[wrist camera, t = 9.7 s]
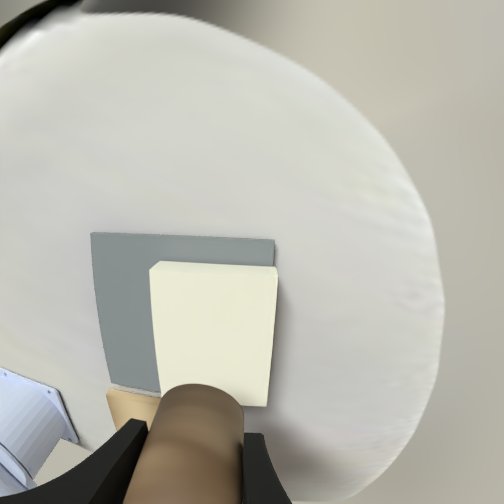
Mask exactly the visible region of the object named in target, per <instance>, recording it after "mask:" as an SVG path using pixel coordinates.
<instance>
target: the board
mask: <svg viewBox="0 0 504 504" xmlns="http://www.w3.org/2000/svg"><path fill="white" fill-rule="evenodd" d="M106 398H107V401H108V405H109V408H110V411H111V414H112V418H113V421H114V424H115V427H116V430H117V431H118V430H119V429H120V428H121V427H122V426H123V425H124V424H125V423H126V422H127V421H128V420H129V419H131V418H134V419H139V420H144V421H146V422H147V427H148V431H149V430H150V427H151V424H152V422H153V419H154V416H155V414H156V411H157V409H158V406H159V403H160V401H161V398H158V397H152V396H146V395H140V394H135V393H130V392H125V391H120V390H116V389H111V388H110V390H109V391H108V393H107V394H106Z"/></svg>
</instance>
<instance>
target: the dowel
mask: <svg viewBox="0 0 504 504" xmlns="http://www.w3.org/2000/svg"><path fill="white" fill-rule="evenodd" d="M243 441H244V413H243V410H242V408H241V406H240V404H239V403H238V402H237V401H236V400H235V399H234V398H233V397H232V396H231V395H230V394H228V393H226V392H225V391H223V390H221V389H218V388H216V387H213V386H209V385H204V384H196V383H195V384H183V385H179V386H176V387H173V388H172V389H170V390H168V391H167V392H166V393H165V394H164V395H163V397H162V398H161V401H160V403H159V406H158V409H157V411H156V414H155V416H154V419H153V422H152V424H151V427H150V430H149V432H148V435H147V438H146V440H145V443H144V446H143V448H142V451H141V454H140V457H139V459H138V462H137V465H136V468H135V470H134V473H133V476H132V479H131V481H130V484H129V487H128V490H127V493H126V496H125V499H124V501H123V504H242V493H243V467H242V462H243Z"/></svg>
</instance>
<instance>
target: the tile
mask: <svg viewBox="0 0 504 504" xmlns="http://www.w3.org/2000/svg"><path fill="white" fill-rule="evenodd" d="M149 276H150V294H151V308H152V321H153V332H154V341H155V351H156V359H157V367H158V375H159V382H160V389H161V395H162V397H163V395H164V394H165V393H166V392H167V391H168V390H170V389H172V388H173V387H176V386H179V385H183V384H195V383H196V384H204V385H209V386H213V387H216V388H218V389H221V390H223V391H225V392H226V393H228V394H230V395H231V396H232V397H233V398H234V399H235V400H236V401H237V402H238V403H239V404H240V405H242V406H266V405H267V396H268V386H269V376H270V366H271V356H272V345H273V334H274V322H275V310H276V298H277V285H278V274H277V270H276V267H267V266H246V265H226V264H208V263H190V262H172V261H159V262H158V263H157V264H155V265H154V266H153V267H152V268H151V269H149Z"/></svg>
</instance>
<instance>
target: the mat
mask: <svg viewBox="0 0 504 504" xmlns="http://www.w3.org/2000/svg"><path fill="white" fill-rule="evenodd" d="M90 235H91V253H92V266H93V277H94V286H95V295H96V303H97V310H98V317H99V324H100V330H101V335H102V341H103V346H104V352H105V356H106V361H107V366H108V370H109V375H110V379H111V383H114V384H118V385H123V386H128V387H134V388H139V389H145V390H151V391H157V392H161V389H160V382H159V375H158V367H157V359H156V351H155V341H154V332H153V321H152V308H151V294H150V276H149V269H151V268H152V267H153V266H154V265H155V264H157V263H158V262H159V261H172V262H190V263H208V264H226V265H246V266H267V267H273V259H274V243H275V241H274V240H268V239H248V238H227V237H205V236H182V235H157V234H129V233H100V232H93V233H90Z"/></svg>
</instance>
